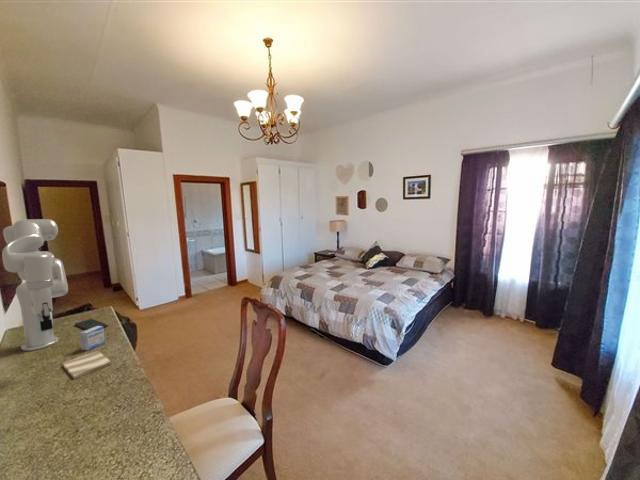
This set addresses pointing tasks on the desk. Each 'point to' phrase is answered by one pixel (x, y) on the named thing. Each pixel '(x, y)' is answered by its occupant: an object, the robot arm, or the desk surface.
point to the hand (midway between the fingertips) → (45, 327)
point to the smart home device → (90, 324)
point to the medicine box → (92, 338)
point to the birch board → (86, 364)
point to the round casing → (39, 323)
